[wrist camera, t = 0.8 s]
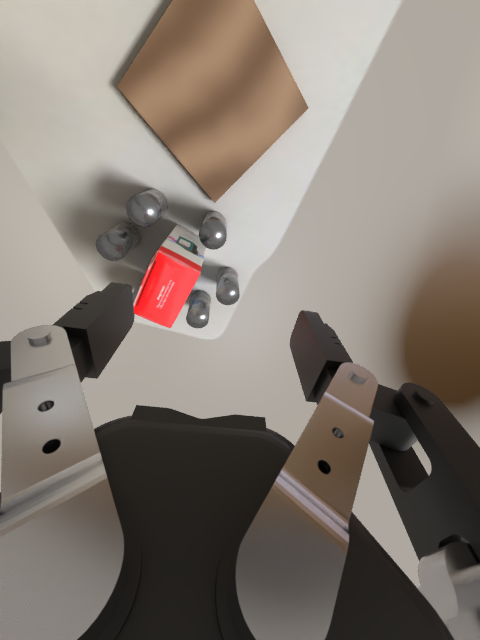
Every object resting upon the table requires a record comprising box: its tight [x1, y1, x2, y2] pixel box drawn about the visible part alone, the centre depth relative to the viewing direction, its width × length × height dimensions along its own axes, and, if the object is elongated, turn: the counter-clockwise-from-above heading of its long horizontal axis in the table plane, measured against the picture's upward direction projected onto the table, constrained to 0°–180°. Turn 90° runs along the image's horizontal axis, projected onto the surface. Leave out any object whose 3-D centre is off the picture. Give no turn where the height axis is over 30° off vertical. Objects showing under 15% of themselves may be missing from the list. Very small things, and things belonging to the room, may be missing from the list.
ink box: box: [133, 225, 206, 328], centre depth 29 cm, size 8×5×15 cm, turn 149°
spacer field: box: [96, 189, 239, 328], centre depth 32 cm, size 17×17×6 cm
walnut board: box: [117, 0, 308, 203], centre depth 25 cm, size 14×14×1 cm
